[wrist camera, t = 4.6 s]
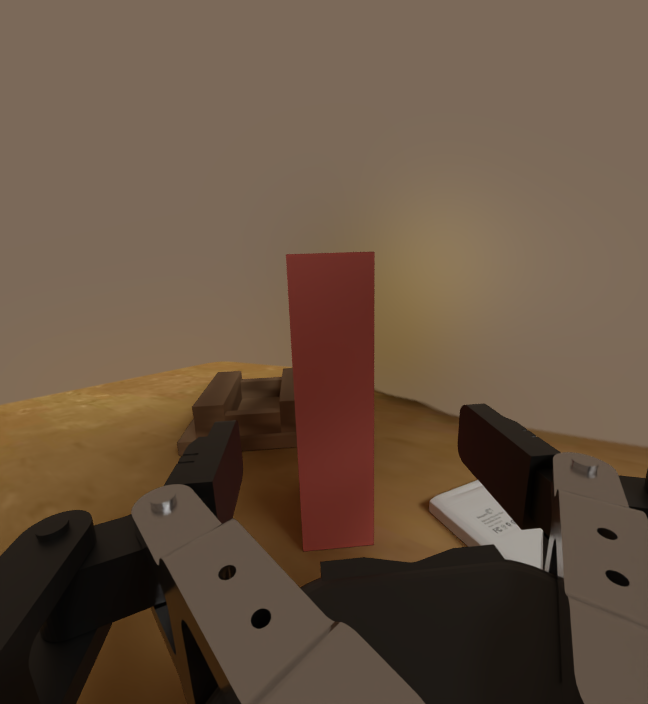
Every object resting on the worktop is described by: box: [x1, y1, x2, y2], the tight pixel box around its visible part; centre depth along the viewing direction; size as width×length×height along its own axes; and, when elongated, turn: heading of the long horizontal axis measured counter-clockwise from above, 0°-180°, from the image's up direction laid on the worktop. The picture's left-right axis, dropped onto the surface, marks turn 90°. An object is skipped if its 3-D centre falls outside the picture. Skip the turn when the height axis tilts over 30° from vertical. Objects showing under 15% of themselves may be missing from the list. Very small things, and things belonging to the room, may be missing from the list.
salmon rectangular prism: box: [286, 252, 374, 551], centre depth 20 cm, size 4×6×16 cm, turn 5°
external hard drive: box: [429, 480, 543, 569], centre depth 18 cm, size 2×8×12 cm
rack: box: [177, 368, 297, 455], centre depth 35 cm, size 13×11×4 cm
